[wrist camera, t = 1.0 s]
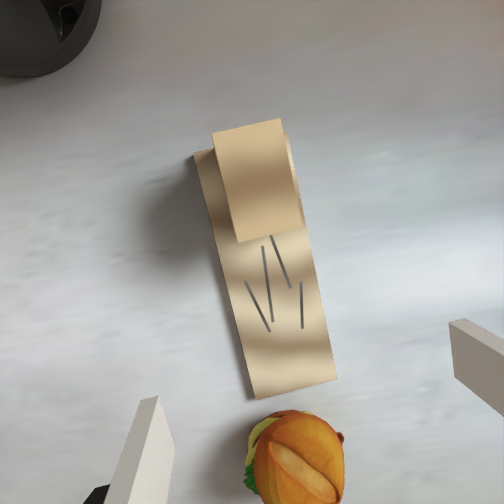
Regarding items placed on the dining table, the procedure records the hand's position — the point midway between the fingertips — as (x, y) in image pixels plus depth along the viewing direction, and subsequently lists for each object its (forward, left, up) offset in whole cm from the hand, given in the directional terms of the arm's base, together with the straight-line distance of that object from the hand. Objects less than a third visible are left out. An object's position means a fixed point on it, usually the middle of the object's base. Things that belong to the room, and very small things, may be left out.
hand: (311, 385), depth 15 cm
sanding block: (-9, +1, -20) cm, 22 cm away
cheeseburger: (+19, -1, -21) cm, 29 cm away
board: (0, +1, -21) cm, 21 cm away
